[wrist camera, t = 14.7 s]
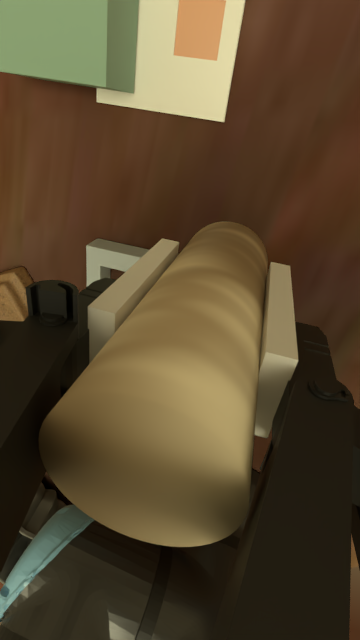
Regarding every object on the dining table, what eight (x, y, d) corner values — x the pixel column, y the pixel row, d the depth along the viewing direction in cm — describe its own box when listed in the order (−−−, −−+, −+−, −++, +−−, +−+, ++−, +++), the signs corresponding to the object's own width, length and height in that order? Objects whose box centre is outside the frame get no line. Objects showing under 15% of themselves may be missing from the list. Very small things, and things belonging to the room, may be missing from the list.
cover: (142, -66, 23) (109, -106, 19) (133, 93, 27) (105, 87, 24) (29, -72, 25) (-22, -108, 21) (39, 79, 29) (-1, 71, 25)
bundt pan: (-39, 492, 73) (-81, 540, 64) (-21, 427, 58) (-72, 477, 50) (67, 553, 74) (39, 607, 65) (109, 503, 60) (81, 565, 51)
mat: (258, -76, 22) (258, -79, 21) (224, 122, 27) (223, 122, 27) (100, -87, 23) (97, -90, 23) (98, 102, 29) (96, 102, 29)
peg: (278, 231, 15) (278, 438, 5) (256, 308, 17) (223, 570, 7) (191, 213, 16) (28, 366, 5) (180, 291, 18) (45, 507, 7)
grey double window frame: (239, 269, 33) (237, 279, 31) (221, 344, 38) (218, 357, 35) (97, 238, 35) (86, 245, 33) (97, 312, 40) (87, 322, 38)
